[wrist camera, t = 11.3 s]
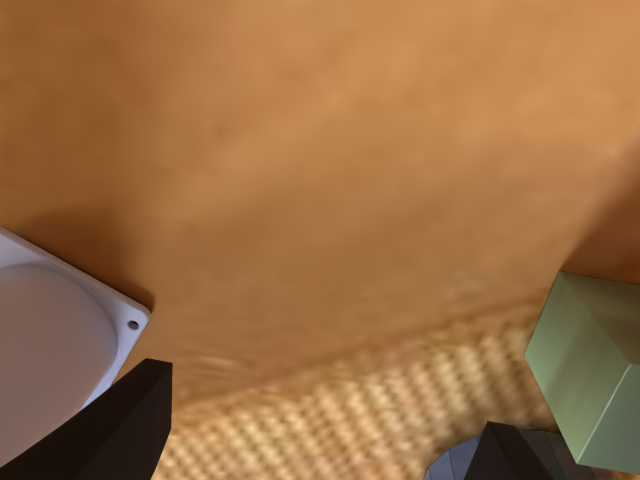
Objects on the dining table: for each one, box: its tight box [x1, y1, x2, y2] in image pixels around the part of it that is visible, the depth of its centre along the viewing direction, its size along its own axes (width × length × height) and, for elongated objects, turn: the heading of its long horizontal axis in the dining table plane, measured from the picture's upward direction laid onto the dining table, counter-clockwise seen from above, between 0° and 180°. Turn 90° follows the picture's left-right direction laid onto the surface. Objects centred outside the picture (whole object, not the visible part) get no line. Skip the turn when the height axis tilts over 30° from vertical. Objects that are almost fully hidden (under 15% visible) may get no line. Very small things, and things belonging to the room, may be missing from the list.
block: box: [524, 272, 640, 475], centre depth 18 cm, size 4×4×6 cm
